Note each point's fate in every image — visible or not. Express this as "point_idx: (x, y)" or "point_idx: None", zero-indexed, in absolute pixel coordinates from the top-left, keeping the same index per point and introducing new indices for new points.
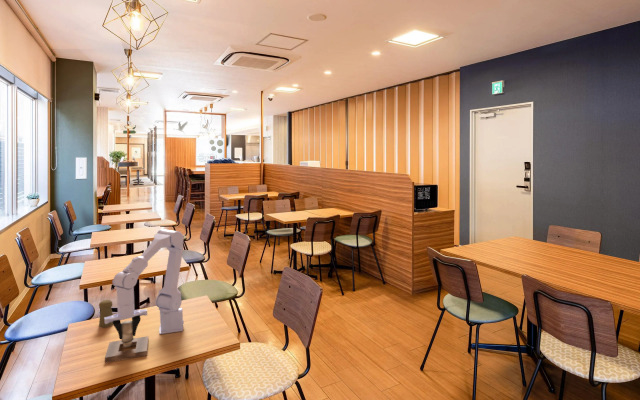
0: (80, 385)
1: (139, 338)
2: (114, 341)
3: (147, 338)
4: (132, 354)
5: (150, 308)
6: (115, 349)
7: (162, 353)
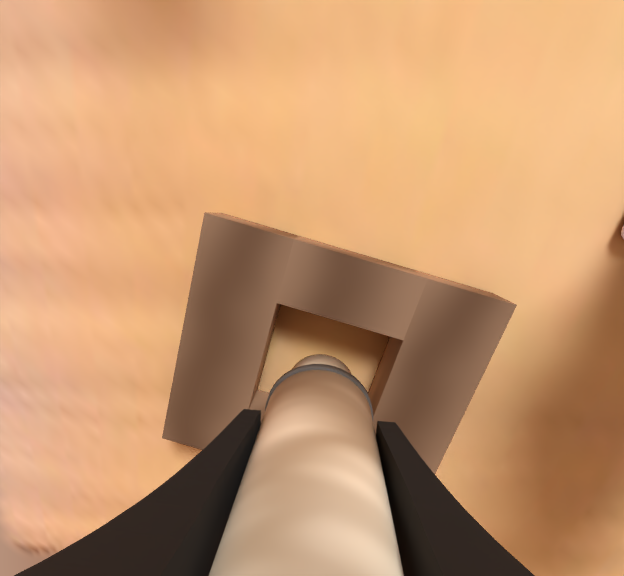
0: (76, 535)
1: (437, 301)
2: (242, 228)
3: (492, 343)
4: None
5: None
6: (234, 371)
7: (492, 507)
